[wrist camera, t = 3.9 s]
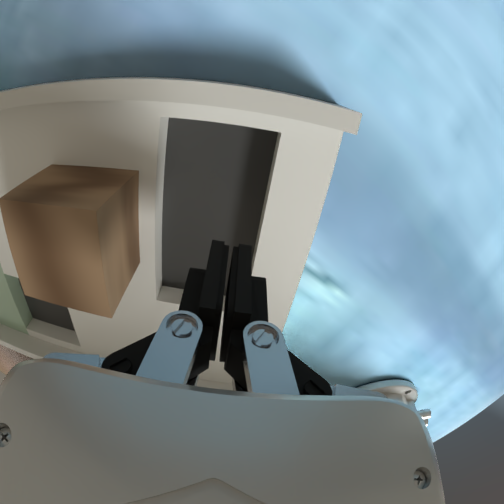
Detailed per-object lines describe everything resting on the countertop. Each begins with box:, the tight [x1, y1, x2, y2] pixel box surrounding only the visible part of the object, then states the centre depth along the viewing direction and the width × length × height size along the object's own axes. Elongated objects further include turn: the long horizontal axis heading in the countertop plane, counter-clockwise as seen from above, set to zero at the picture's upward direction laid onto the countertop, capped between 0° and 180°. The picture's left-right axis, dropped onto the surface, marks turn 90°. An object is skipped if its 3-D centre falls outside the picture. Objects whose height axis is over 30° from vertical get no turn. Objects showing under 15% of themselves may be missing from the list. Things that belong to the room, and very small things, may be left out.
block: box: [0, 164, 140, 318], centre depth 14 cm, size 6×6×5 cm
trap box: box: [0, 77, 362, 390], centre depth 18 cm, size 32×24×5 cm
